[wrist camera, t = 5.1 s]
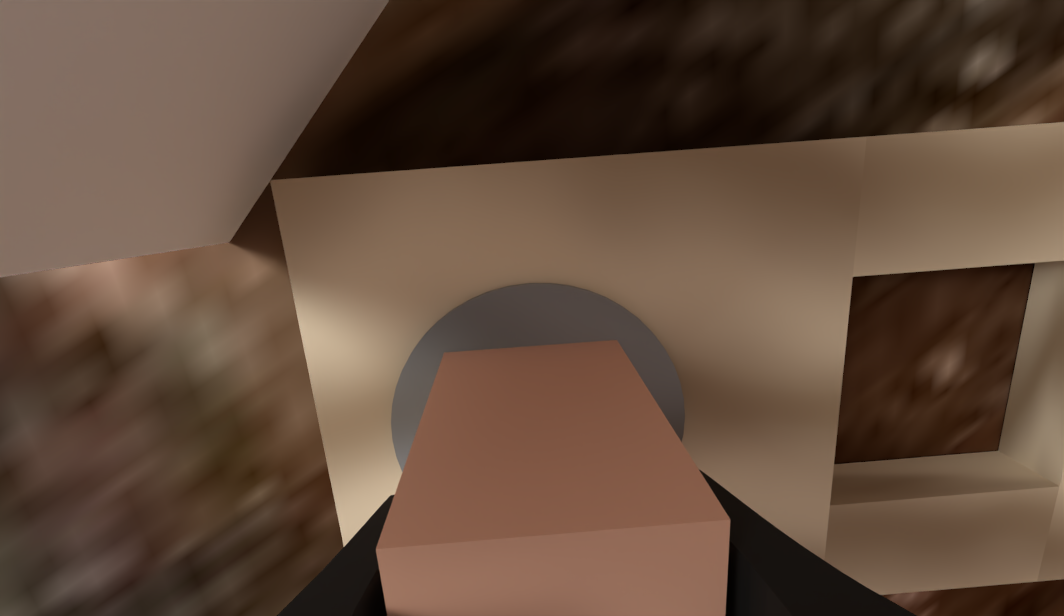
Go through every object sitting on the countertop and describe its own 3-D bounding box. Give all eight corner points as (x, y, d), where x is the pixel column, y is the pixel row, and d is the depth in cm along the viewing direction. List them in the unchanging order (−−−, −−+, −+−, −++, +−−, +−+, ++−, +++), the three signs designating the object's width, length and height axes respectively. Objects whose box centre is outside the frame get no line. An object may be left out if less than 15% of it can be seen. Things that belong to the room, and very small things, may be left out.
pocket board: (1049, 531, 18) (1124, 582, 16) (379, 588, 18) (359, 648, 16) (1148, 117, 14) (1264, 107, 12) (303, 178, 14) (264, 180, 12)
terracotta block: (619, 489, 14) (717, 771, 8) (461, 501, 14) (419, 801, 8) (617, 339, 13) (731, 519, 6) (444, 352, 13) (375, 549, 6)
